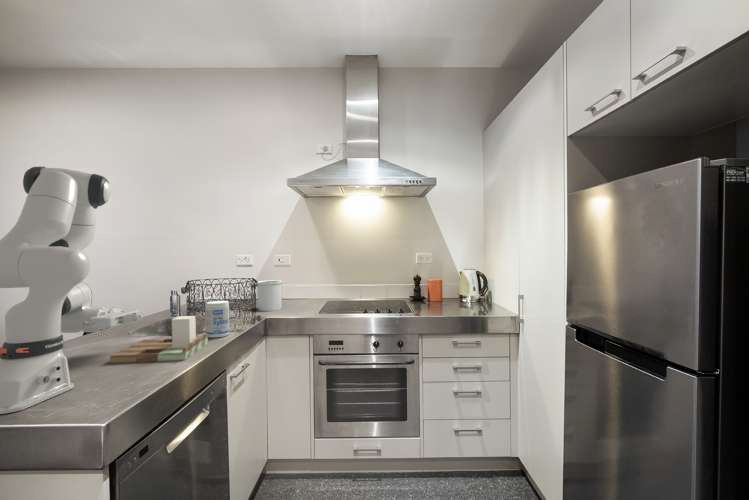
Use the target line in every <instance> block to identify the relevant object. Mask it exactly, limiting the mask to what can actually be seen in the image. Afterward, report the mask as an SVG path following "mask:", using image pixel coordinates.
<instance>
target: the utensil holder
mask: <svg viewBox="0 0 749 500" xmlns="http://www.w3.org/2000/svg"><path fill="white" fill-rule="evenodd" d="M282 283H283V281H282V280H280V279H271V280H270V279H269V280H259V281H257V282H256V286H257V305H258V306H257V307H258V311H259V312H275V311H279V310H282V308H283V307H282V304H283V303H282V302H283V300H282V298H283V297H282V296H283V295H282V292H283V291H282Z"/></svg>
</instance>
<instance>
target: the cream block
mask: <svg viewBox="0 0 749 500" xmlns="http://www.w3.org/2000/svg"><path fill="white" fill-rule="evenodd" d="M196 320H197V319H196V315H185V316H181V315H180V316H177V317H174V318H172V319H171V334H172V335H171V339H172V347H185V346H187V345H188V344H190V343H191V342H193V341H194V340H196V338H197V329H196V326H197V323H196Z"/></svg>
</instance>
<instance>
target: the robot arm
mask: <svg viewBox="0 0 749 500" xmlns="http://www.w3.org/2000/svg"><path fill="white" fill-rule="evenodd" d="M22 185H23V186H22V187H23V190H24V192H25V193H26V194H27V196H26V199H25V200H24V201H25V202H24V205H23V207H22V209H21V212H20V214H19V217H18V219H17V221H16V223H15V225H14V226H13V227H12V228H11V230H9V231H8V232H7V233H6V234H5V235H4V236H3V237H2V238H1V239H0V289H15V288H16V289H17V288H19V289H20V288H28V294H27V296H26V298H25V299H24V300H23V301H21V302H19V303H16V304H14V305H13V306H11V307H10V308H9V309H8V310H7V311H6V313H5V315H4V327H5V328H4V329H5V330H4V333H5V335H4V336H5V341H4V342H3V344H2V347H0V415H3V414H8V413H15V412H20V411H22V410H25V409H28V408H29V407H33V406H34V405H37V404H40V403H43V401H46V400H49V399H51V398H53V397H56V396H58V395H60V394H63V393H65V392H67V391H70V390H73V389H74V388H75V384H74V383H73V382H72V381H71V379H70V370H69V364H68V363H69V362H68V358H67V357H66V356H65V354H64V352H63V348H64V341H65V340H64V335H63V334H77V333H81V332H84V333H103V332H105V331H107V330H108V329H110V328H114V327H117V326H120V325H125V324H128V323H130V322H139V321H141V320H142V319H143V315H142V314H141V312H140V310H139V309H130V308H129V309H128V308H127V309H126V308H118V307H106V306H92V304H93V303H92V302H93V292H92V289H91V287H90V286H89V285H88V284H86V283H85V282H83V281H84V280H85V279H86V278H87V277H88V275H89V272H90V269H91V263H90V262H91V261H90V259H89V256H88V255H87V254H86V253H85V252H84V251H83V250H84V249H85V248H87V247H89V245H91V244H92V243H93V241H94V238H95V235H96V225H97V223H96V218H97V217H96V215H97V213H96V209H98V208H99V207H102V206H104V205H105V204H106V203H107V202H108V200H109V198H110V196H111V186H110V181H109V180H108V179H107V178H106V177H105V176H104V175H99V174H96V173H88V172H84V171H79V170H72V169H68V168H60V167H58V168H57V167H46V166H34V167H33V166H32V167H30V168H29V169H27V170H26V171H25V172H24V175H23V179H22ZM62 333H63V334H62Z"/></svg>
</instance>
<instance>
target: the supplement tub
mask: <svg viewBox="0 0 749 500" xmlns="http://www.w3.org/2000/svg"><path fill="white" fill-rule="evenodd" d="M204 312H205V333H207V335H208V339H209V338H211V339H213V338H214V339H216V338H225V337H226V336H229V335H230V302H229V301H227V300H213V301H206V302H205V311H204Z"/></svg>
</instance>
